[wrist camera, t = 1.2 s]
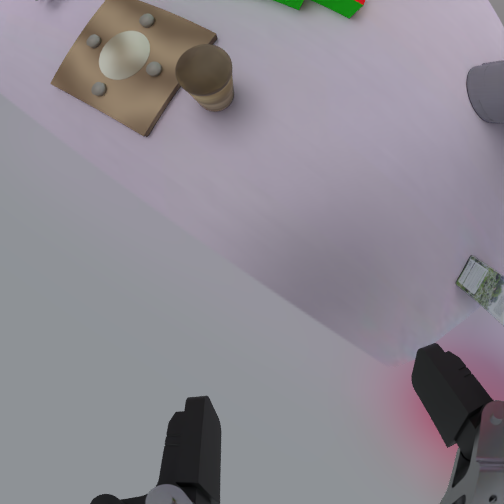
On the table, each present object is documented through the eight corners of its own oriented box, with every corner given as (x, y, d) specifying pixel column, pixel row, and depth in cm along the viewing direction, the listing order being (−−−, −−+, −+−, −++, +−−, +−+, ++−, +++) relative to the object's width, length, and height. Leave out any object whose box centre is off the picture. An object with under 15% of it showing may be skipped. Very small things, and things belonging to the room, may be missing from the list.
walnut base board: (116, -4, 22) (109, -11, 20) (217, 38, 26) (215, 30, 24) (56, 85, 26) (46, 82, 24) (147, 136, 30) (140, 136, 27)
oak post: (210, 71, 28) (197, 35, 16) (241, 89, 29) (243, 60, 17) (189, 100, 29) (164, 78, 18) (220, 118, 30) (210, 104, 19)
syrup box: (469, 293, 40) (519, 337, 27) (453, 283, 39) (507, 330, 26) (485, 265, 39) (539, 304, 25) (470, 253, 37) (529, 293, 24)
